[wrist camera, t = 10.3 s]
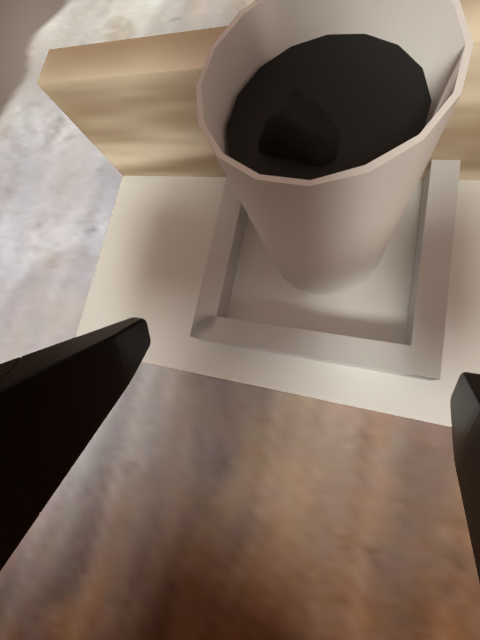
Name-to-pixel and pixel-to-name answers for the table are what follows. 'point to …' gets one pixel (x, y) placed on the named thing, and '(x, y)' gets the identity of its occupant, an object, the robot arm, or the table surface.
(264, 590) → the table surface
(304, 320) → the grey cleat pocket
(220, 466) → the table surface
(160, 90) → the ash wall board
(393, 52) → the white coffee cup
